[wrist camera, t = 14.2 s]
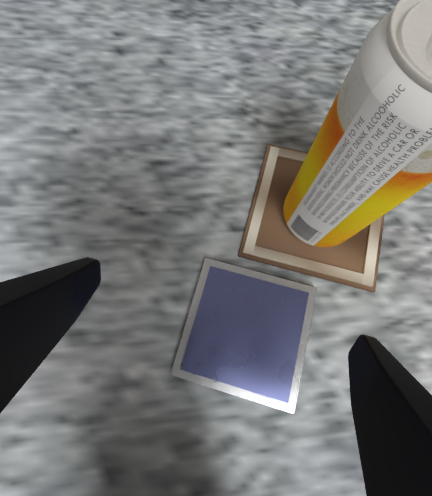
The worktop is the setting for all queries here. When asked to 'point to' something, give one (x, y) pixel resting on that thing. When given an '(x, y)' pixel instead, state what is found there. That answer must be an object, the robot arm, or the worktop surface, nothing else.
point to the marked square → (292, 248)
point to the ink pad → (246, 334)
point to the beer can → (370, 134)
